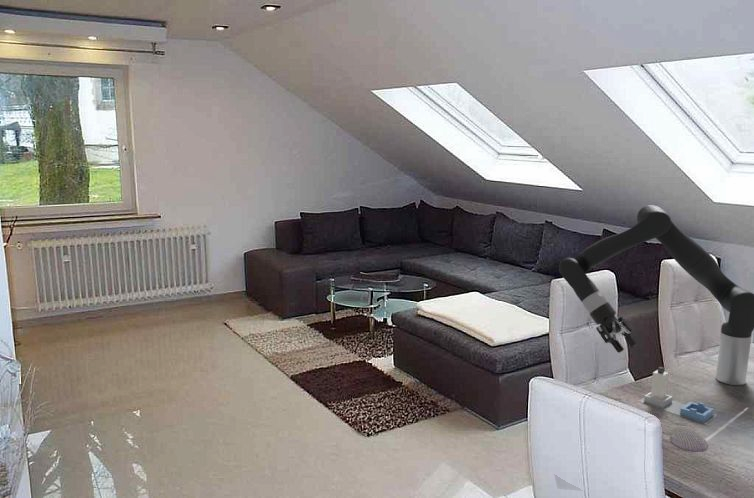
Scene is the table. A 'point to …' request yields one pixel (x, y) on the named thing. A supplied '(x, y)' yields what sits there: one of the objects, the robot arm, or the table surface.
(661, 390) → the white knobbed square peg
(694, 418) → the socket
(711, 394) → the table surface
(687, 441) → the seashell
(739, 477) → the table surface
